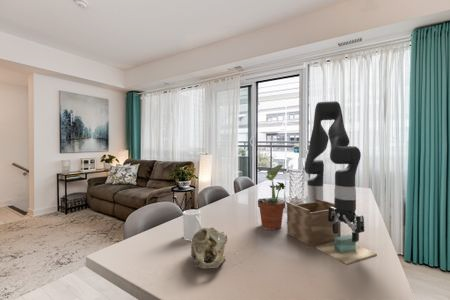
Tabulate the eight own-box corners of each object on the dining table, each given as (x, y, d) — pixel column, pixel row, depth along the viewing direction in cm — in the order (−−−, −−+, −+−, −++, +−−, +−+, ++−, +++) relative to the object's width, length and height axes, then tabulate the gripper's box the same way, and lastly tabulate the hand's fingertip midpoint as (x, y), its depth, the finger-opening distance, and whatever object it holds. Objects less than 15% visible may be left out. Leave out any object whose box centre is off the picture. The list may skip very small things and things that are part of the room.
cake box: (287, 233, 106) (286, 202, 106) (317, 227, 113) (316, 198, 113) (308, 245, 93) (308, 210, 93) (340, 238, 100) (340, 205, 100)
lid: (316, 249, 91) (315, 234, 90) (344, 242, 97) (344, 228, 97) (346, 266, 78) (346, 248, 78) (376, 256, 84) (376, 240, 84)
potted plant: (292, 226, 115) (292, 159, 115) (274, 233, 106) (273, 161, 105) (269, 218, 127) (268, 158, 127) (251, 225, 118) (250, 159, 117)
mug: (207, 240, 99) (207, 214, 99) (189, 245, 94) (189, 217, 94) (196, 232, 109) (196, 208, 109) (180, 236, 104) (179, 211, 104)
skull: (235, 278, 76) (193, 282, 69) (214, 247, 94) (180, 248, 88) (241, 247, 75) (199, 248, 69) (219, 221, 93) (185, 221, 87)
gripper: (323, 194, 92) (323, 232, 92) (354, 202, 79) (355, 246, 79) (336, 192, 95) (336, 229, 95) (369, 199, 82) (369, 243, 82)
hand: (345, 237), depth 87 cm, fingers open, 8 cm apart
